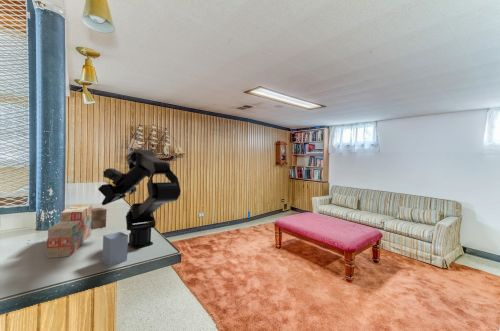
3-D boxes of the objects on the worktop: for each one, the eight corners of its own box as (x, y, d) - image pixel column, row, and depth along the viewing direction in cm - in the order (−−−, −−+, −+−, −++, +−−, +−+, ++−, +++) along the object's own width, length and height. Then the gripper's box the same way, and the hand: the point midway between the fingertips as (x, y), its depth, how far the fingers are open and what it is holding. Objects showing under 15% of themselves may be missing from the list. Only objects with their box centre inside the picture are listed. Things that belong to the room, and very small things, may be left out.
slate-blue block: (119, 256, 73) (120, 231, 73) (126, 260, 71) (128, 235, 70) (102, 261, 69) (103, 235, 69) (109, 266, 66) (110, 239, 66)
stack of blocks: (70, 256, 71) (72, 218, 71) (45, 258, 69) (47, 219, 69) (91, 234, 91) (92, 204, 91) (72, 235, 89) (73, 205, 89)
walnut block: (101, 224, 105) (101, 207, 105) (105, 226, 102) (106, 209, 102) (88, 226, 101) (89, 209, 101) (93, 229, 98) (93, 211, 98)
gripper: (130, 161, 96) (101, 186, 95) (105, 161, 77) (70, 192, 77) (148, 180, 97) (120, 205, 96) (128, 185, 78) (93, 216, 77)
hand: (102, 204), depth 86 cm, fingers closed
